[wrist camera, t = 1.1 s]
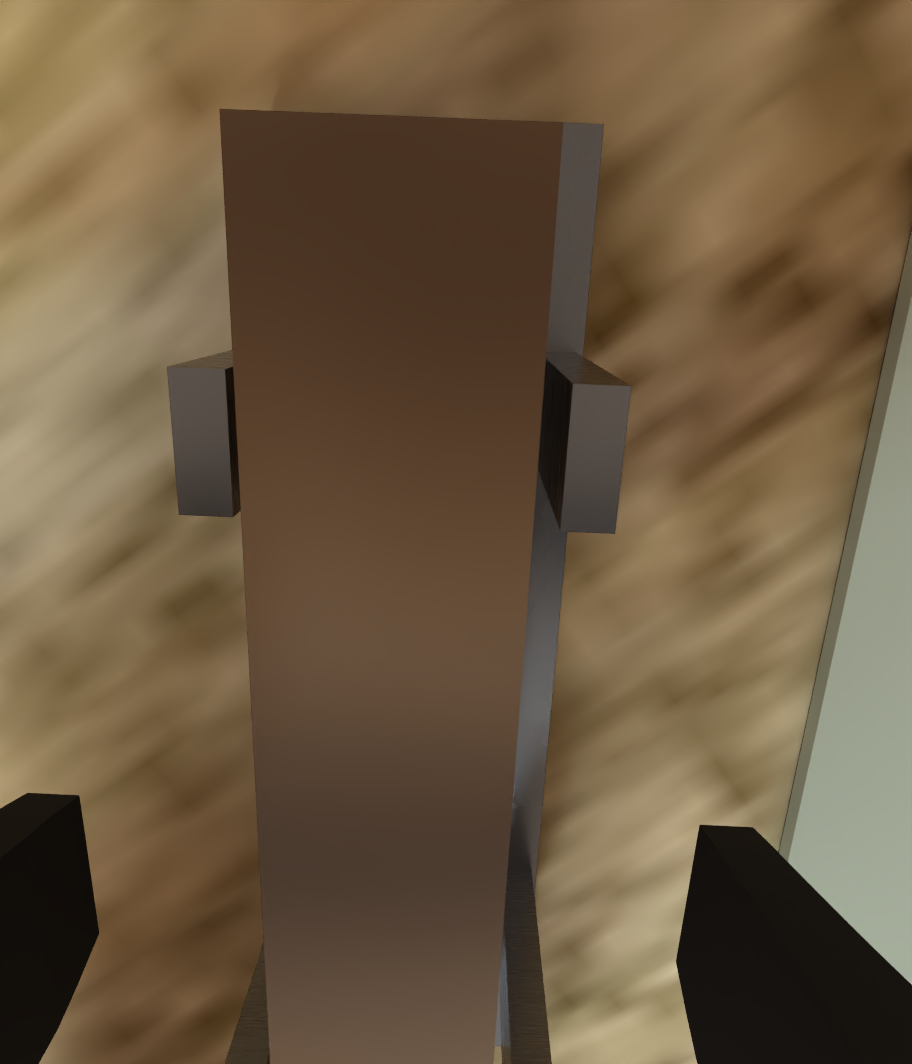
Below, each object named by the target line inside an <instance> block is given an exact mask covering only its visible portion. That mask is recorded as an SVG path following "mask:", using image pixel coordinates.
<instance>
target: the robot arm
mask: <svg viewBox="0 0 912 1064" xmlns="http://www.w3.org/2000/svg"><path fill="white" fill-rule="evenodd" d="M98 935H99V929H98V922H97V915H96V908H95V901H94V894H93V887H92V880H91V874H90V867H89V860H88V853H87V846H86V839H85V832H84V825H83V818H82V811H81V804H80V798H79V795H59V794H38V793H27V794H25V795H23V796H21V797H20V798H18V799H16V800H14V801H13V802H11V803H9V804H7V805H6V806H4V807H3V808H1V809H0V1064H39V1062H40V1060H41V1058H42V1057H43V1055H44V1053H45V1051H46V1049H47V1047H48V1046H49V1044H50V1042H51V1040H52V1038H53V1037H54V1035H55V1033H56V1031H57V1029H58V1027H59V1025H60V1023H61V1021H62V1018H63V1016H64V1014H65V1012H66V1010H67V1007H68V1005H69V1003H70V1001H71V998H72V996H73V994H74V992H75V989H76V987H77V985H78V983H79V980H80V978H81V975H82V973H83V971H84V968H85V966H86V963H87V961H88V959H89V956H90V954H91V951H92V949H93V947H94V944H95V942H96V939H97V937H98ZM676 964H677V969H678V974H679V979H680V984H681V989H682V994H683V999H684V1004H685V1009H686V1014H687V1019H688V1023H689V1028H690V1032H691V1037H692V1041H693V1046H694V1051H695V1055H696V1060H697V1063H698V1064H912V984H911V983H910V982H908V981H907V980H906V979H905V978H904V977H903V976H902V975H901V974H900V973H899V972H898V971H897V970H896V969H895V968H894V967H893V966H892V965H891V964H890V963H889V962H888V961H887V960H886V959H885V958H884V957H882V956H881V955H880V954H879V953H878V952H877V951H876V950H875V949H874V948H873V947H872V946H871V945H870V944H869V943H868V942H867V941H866V940H865V939H864V938H863V937H862V936H861V935H860V934H859V933H858V932H857V931H856V930H855V929H854V928H853V927H852V926H851V925H850V924H849V923H848V922H847V921H846V920H845V919H844V918H843V917H842V916H841V915H840V914H839V913H838V912H837V911H836V910H835V909H834V908H833V907H832V906H831V905H830V904H829V903H828V902H827V901H826V900H825V899H824V898H823V897H822V896H821V895H820V894H819V893H818V892H817V891H816V890H815V889H814V888H813V887H812V886H811V885H810V884H809V883H808V882H807V881H806V880H805V879H804V878H803V877H802V876H801V875H800V874H799V873H798V872H797V871H796V870H795V869H794V868H793V867H792V866H791V865H790V864H789V863H788V862H787V861H786V860H785V859H784V858H783V857H782V856H781V855H780V854H779V853H778V852H777V851H776V850H775V849H774V848H773V847H772V846H771V845H770V844H769V843H768V842H767V841H766V840H765V839H764V838H763V837H762V836H761V835H760V834H759V833H758V832H757V831H756V830H755V829H754V828H753V827H733V826H712V825H700V826H699V832H698V837H697V843H696V849H695V855H694V861H693V866H692V872H691V878H690V884H689V890H688V895H687V901H686V907H685V913H684V918H683V924H682V930H681V936H680V942H679V947H678V953H677V959H676Z"/></svg>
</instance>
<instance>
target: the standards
mask: <svg viewBox="0 0 912 1064" xmlns="http://www.w3.org/2000/svg"><path fill="white" fill-rule="evenodd" d="M603 127H604V124H584V123H563V137H562V150H561V163H560V177H559V190H558V203H557V217H556V230H555V243H554V257H553V270H552V283H551V297H550V310H549V323H548V337H547V350H546V363H545V377H544V390H543V404H542V417H541V430H540V444H539V457H538V470H537V484H536V497H535V510H534V524H533V537H532V550H531V564H530V577H529V590H528V604H527V617H526V630H525V644H524V657H523V671H522V684H521V697H520V711H519V724H518V737H517V751H516V764H515V777H514V791H513V804H512V817H511V831H510V844H509V857H508V871H507V884H506V897H505V911H504V924H503V937H502V951H501V964H500V978H499V991H498V1004H497V1018H496V1031H495V1044H494V1046H501V1049H502V1064H552V1062H551V1052H550V1042H549V1033H548V1023H547V1013H546V1004H545V994H544V984H543V974H542V965H541V955H540V945H539V936H538V926H537V916H536V906H535V897H534V894H535V883H536V872H537V861H538V850H539V839H540V827H541V816H542V805H543V794H544V783H545V772H546V761H547V750H548V738H549V727H550V716H551V705H552V694H553V683H554V672H555V661H556V650H557V638H558V627H559V616H560V605H561V594H562V583H563V572H564V561H565V549H566V538H567V532H587V533H610V534H615V529H616V520H617V511H618V502H619V493H620V484H621V475H622V466H623V457H624V448H625V439H626V430H627V421H628V412H629V403H630V394H631V386H630V385H628V384H627V383H625V382H624V381H622V380H620V379H619V378H617V377H615V376H614V375H612V374H610V373H609V372H607V371H606V370H604V369H602V368H601V367H599V366H597V365H596V364H594V363H593V362H591V361H589V360H588V359H586V358H584V357H583V349H584V338H585V327H586V316H587V305H588V294H589V283H590V272H591V260H592V249H593V238H594V227H595V216H596V205H597V194H598V183H599V172H600V160H601V149H602V138H603ZM167 372H168V385H169V397H170V410H171V422H172V435H173V447H174V460H175V472H176V485H177V497H178V509H179V515H195V516H218V517H234V516H235V515H236V514H237V513H238V512H239V511H240V510H241V503H240V484H239V466H238V447H237V428H236V409H235V390H234V371H233V353H232V350H231V351H227V352H223V353H219V354H215V355H211V356H207V357H203V358H199V359H196V360H192V361H188V362H184V363H180V364H176V365H172V366H168V367H167ZM225 1064H270V1050H269V1031H268V1012H267V993H266V974H265V956H264V942H263V945H262V948H261V952H260V955H259V958H258V961H257V964H256V967H255V970H254V973H253V977H252V980H251V983H250V986H249V989H248V992H247V995H246V999H245V1002H244V1005H243V1008H242V1011H241V1014H240V1017H239V1021H238V1024H237V1027H236V1030H235V1033H234V1036H233V1039H232V1042H231V1046H230V1049H229V1052H228V1055H227V1058H226V1061H225Z"/></svg>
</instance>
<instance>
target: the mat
mask: <svg viewBox="0 0 912 1064" xmlns="http://www.w3.org/2000/svg"><path fill="white" fill-rule="evenodd" d="M779 854H780V855H781V856H782V857H783V858H784V859H785V860H786V861H787V862H788V863H789V864H790V865H791V866H792V867H793V868H794V869H795V870H796V871H797V872H798V873H799V874H800V875H801V876H802V877H803V878H804V879H805V880H806V881H807V882H808V883H809V884H810V885H811V886H812V887H813V888H814V889H815V890H816V891H817V892H818V893H819V894H820V895H821V896H822V897H823V898H824V899H825V900H826V901H827V902H828V903H829V904H830V905H831V906H832V907H833V908H834V909H835V910H836V911H837V912H838V913H839V914H840V915H841V916H842V917H843V918H844V919H845V920H846V921H847V922H848V923H849V924H850V925H851V926H852V927H853V928H854V929H855V930H856V931H857V932H858V933H859V934H860V935H861V936H862V937H863V938H864V939H865V940H866V941H867V942H868V943H869V944H870V945H871V946H872V947H873V948H874V949H875V950H876V951H877V952H878V953H879V954H880V955H881V956H882V957H884V958H885V959H886V960H887V961H888V962H889V963H890V964H891V965H892V966H893V967H894V968H895V969H896V970H897V971H898V972H899V973H900V974H901V975H902V976H903V977H904V978H905V979H906V980H907V981H908V982H910V983H911V984H912V231H911V236H910V240H909V245H908V250H907V254H906V259H905V264H904V268H903V273H902V278H901V282H900V287H899V292H898V297H897V301H896V306H895V311H894V315H893V320H892V325H891V329H890V334H889V339H888V343H887V348H886V353H885V358H884V362H883V367H882V372H881V376H880V381H879V386H878V390H877V395H876V400H875V404H874V409H873V414H872V418H871V423H870V428H869V433H868V437H867V442H866V447H865V451H864V456H863V461H862V465H861V470H860V475H859V479H858V484H857V489H856V494H855V498H854V503H853V508H852V512H851V517H850V522H849V526H848V531H847V536H846V540H845V545H844V550H843V554H842V559H841V564H840V569H839V573H838V578H837V583H836V587H835V592H834V597H833V601H832V606H831V611H830V615H829V620H828V625H827V630H826V634H825V639H824V644H823V648H822V653H821V658H820V662H819V667H818V672H817V676H816V681H815V686H814V690H813V695H812V700H811V705H810V709H809V714H808V719H807V723H806V728H805V733H804V737H803V742H802V747H801V751H800V756H799V761H798V765H797V770H796V775H795V780H794V784H793V789H792V794H791V798H790V803H789V808H788V812H787V817H786V822H785V826H784V831H783V836H782V841H781V845H780V850H779Z"/></svg>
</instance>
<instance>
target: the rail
mask: <svg viewBox="0 0 912 1064" xmlns="http://www.w3.org/2000/svg"><path fill="white" fill-rule="evenodd" d="M220 126H221V145H222V164H223V183H224V202H225V221H226V239H227V258H228V277H229V296H230V315H231V334H232V353H233V371H234V390H235V409H236V428H237V447H238V466H239V484H240V503H241V522H242V541H243V560H244V579H245V598H246V616H247V635H248V654H249V673H250V692H251V711H252V729H253V748H254V767H255V786H256V805H257V824H258V843H259V861H260V880H261V899H262V918H263V937H264V956H265V974H266V993H267V1012H268V1031H269V1050H270V1064H493V1058H494V1044H495V1031H496V1018H497V1004H498V991H499V978H500V964H501V951H502V937H503V924H504V911H505V897H506V884H507V871H508V857H509V844H510V831H511V817H512V804H513V791H514V777H515V764H516V751H517V737H518V724H519V711H520V697H521V684H522V671H523V657H524V644H525V630H526V617H527V604H528V590H529V577H530V564H531V550H532V537H533V524H534V510H535V497H536V484H537V470H538V457H539V444H540V430H541V417H542V404H543V390H544V377H545V363H546V350H547V337H548V323H549V310H550V297H551V283H552V270H553V257H554V243H555V230H556V217H557V203H558V190H559V177H560V163H561V150H562V137H563V122H538V121H513V120H487V119H462V118H437V117H411V116H386V115H361V114H335V113H310V112H285V111H259V110H234V109H220Z"/></svg>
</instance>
